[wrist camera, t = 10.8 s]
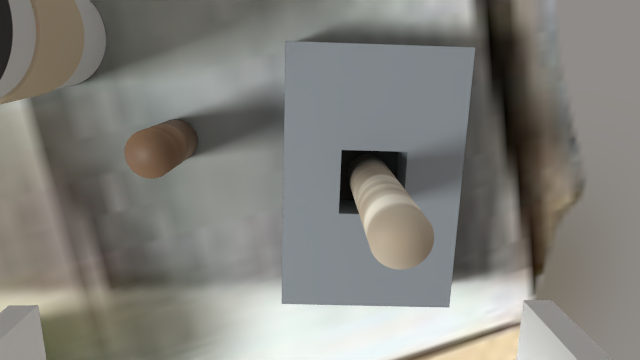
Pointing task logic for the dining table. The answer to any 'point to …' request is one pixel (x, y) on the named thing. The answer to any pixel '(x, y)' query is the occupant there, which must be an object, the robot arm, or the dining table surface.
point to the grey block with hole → (370, 135)
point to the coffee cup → (47, 45)
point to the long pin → (389, 215)
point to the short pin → (160, 148)
